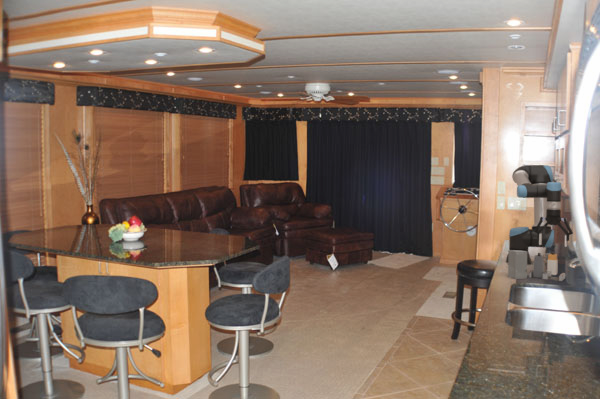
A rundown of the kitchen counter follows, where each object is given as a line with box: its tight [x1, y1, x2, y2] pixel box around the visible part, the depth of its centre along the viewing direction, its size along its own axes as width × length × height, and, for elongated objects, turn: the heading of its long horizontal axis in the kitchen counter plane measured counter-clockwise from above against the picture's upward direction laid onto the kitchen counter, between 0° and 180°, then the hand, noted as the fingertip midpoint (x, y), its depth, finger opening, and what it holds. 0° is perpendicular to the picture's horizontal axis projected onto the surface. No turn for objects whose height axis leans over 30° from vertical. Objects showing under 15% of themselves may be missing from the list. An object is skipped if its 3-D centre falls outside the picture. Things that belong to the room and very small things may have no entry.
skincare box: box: [507, 249, 528, 280], centre depth 299 cm, size 8×7×16 cm
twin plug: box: [533, 252, 545, 279], centre depth 300 cm, size 4×4×14 cm
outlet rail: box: [528, 269, 566, 282], centre depth 298 cm, size 9×17×4 cm, turn 53°
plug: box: [546, 251, 559, 276], centre depth 308 cm, size 4×4×14 cm
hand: (552, 245), depth 307 cm, fingers open, 13 cm apart
